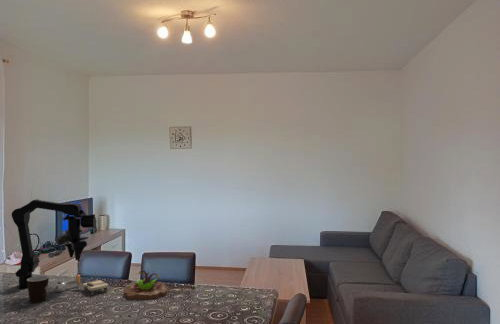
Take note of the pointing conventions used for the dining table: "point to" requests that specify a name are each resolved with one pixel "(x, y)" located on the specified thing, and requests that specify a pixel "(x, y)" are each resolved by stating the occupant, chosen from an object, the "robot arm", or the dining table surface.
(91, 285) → the level stand
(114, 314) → the dining table surface
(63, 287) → the cam capstan
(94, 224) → the robot arm
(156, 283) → the plant
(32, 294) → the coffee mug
